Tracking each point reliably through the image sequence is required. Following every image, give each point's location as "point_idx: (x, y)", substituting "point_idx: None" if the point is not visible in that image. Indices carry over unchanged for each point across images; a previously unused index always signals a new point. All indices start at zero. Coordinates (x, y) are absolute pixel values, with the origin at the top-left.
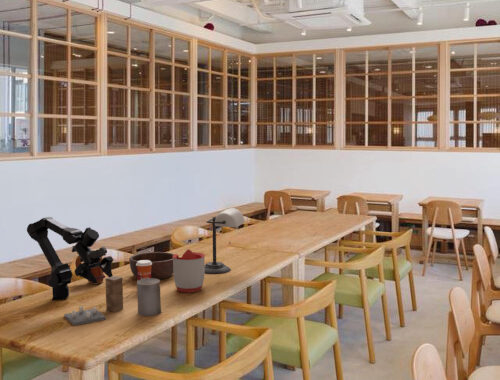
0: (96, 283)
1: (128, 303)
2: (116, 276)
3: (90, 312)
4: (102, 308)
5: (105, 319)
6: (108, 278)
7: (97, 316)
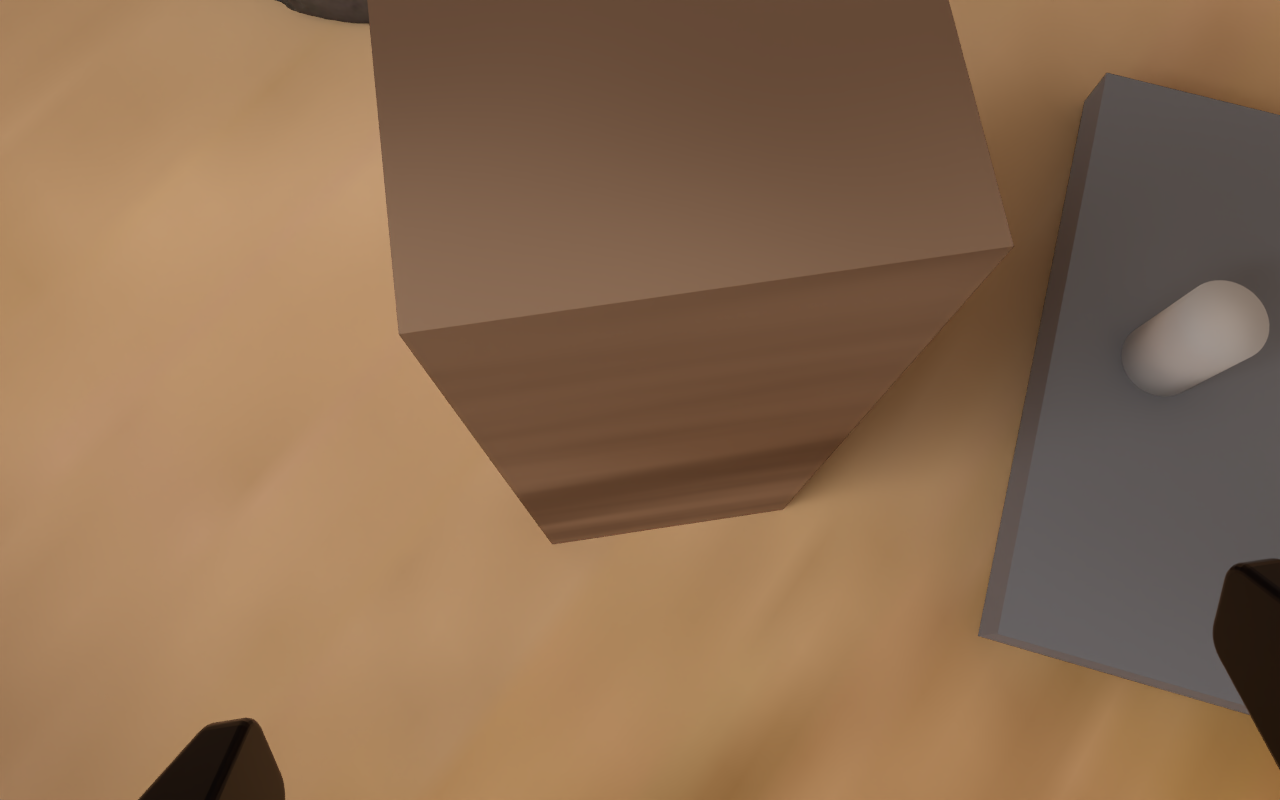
0: (1252, 597)
1: (219, 523)
2: (391, 144)
3: (1194, 484)
4: (766, 675)
5: (1088, 102)
6: (899, 135)
7: (1210, 185)
